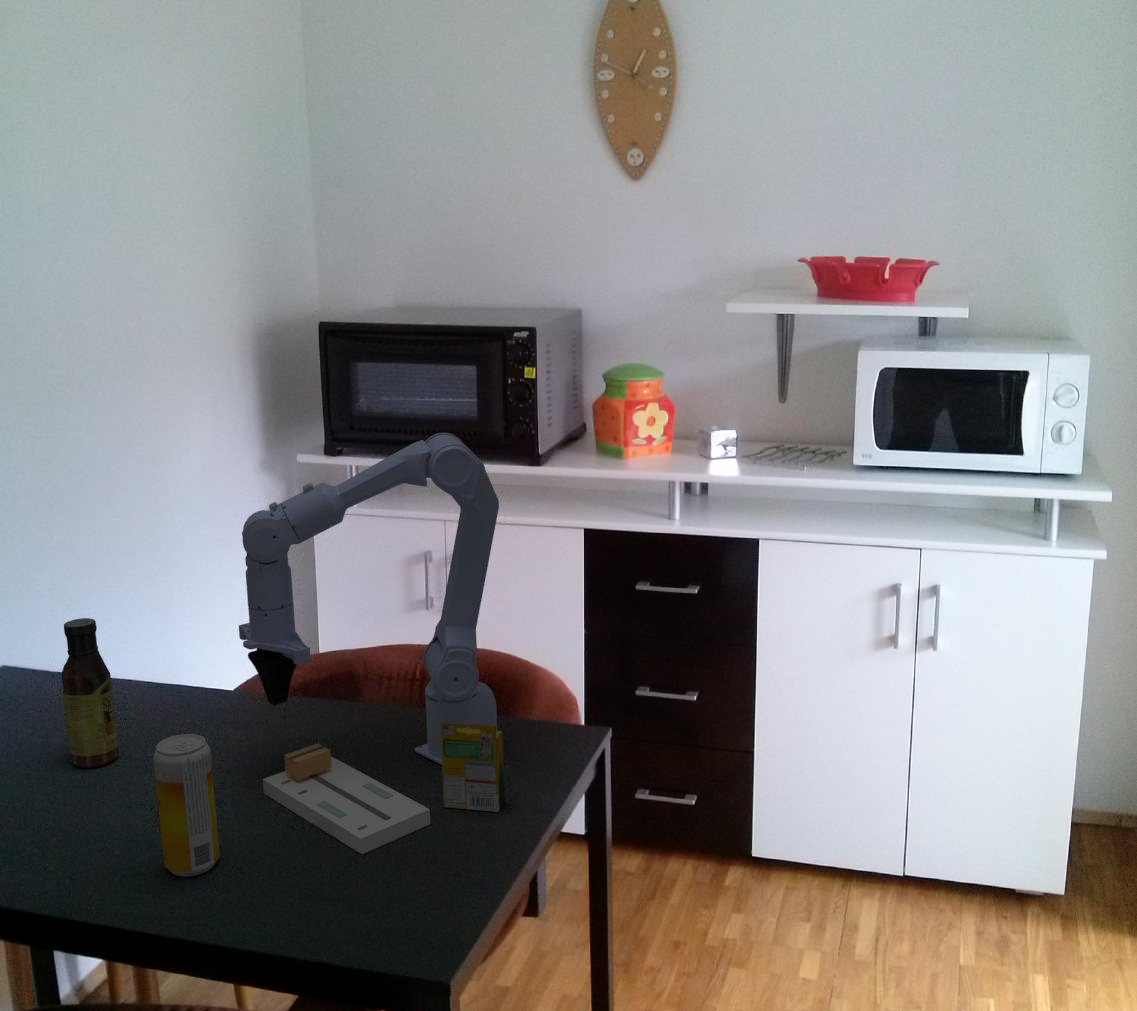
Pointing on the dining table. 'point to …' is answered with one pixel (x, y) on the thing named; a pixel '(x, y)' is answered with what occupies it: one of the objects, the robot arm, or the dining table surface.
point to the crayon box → (472, 766)
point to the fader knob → (307, 761)
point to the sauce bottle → (88, 698)
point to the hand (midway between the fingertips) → (278, 702)
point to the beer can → (186, 804)
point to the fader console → (349, 806)
